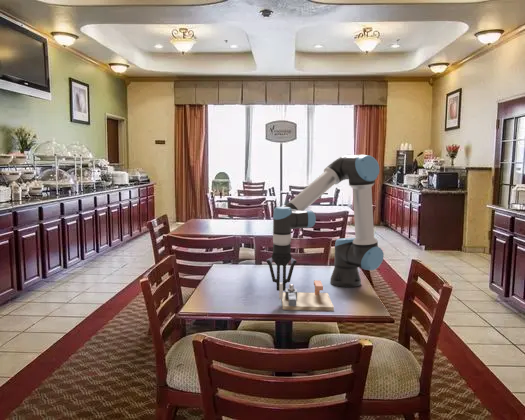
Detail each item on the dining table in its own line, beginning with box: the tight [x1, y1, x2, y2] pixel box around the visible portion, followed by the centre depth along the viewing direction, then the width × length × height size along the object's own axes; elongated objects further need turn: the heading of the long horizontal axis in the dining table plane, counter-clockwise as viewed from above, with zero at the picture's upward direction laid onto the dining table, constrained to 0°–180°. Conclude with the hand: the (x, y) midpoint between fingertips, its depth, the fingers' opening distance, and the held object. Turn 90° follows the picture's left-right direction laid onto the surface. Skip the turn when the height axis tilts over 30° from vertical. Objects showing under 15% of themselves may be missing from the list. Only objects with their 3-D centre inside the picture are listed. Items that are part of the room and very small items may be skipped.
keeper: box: [313, 280, 324, 295], centre depth 205 cm, size 3×10×6 cm, turn 179°
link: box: [285, 287, 298, 306], centre depth 199 cm, size 16×5×3 cm, turn 179°
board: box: [281, 291, 335, 311], centre depth 201 cm, size 21×20×2 cm
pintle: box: [288, 283, 295, 291], centre depth 204 cm, size 5×5×6 cm
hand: (280, 297), depth 198 cm, fingers closed
